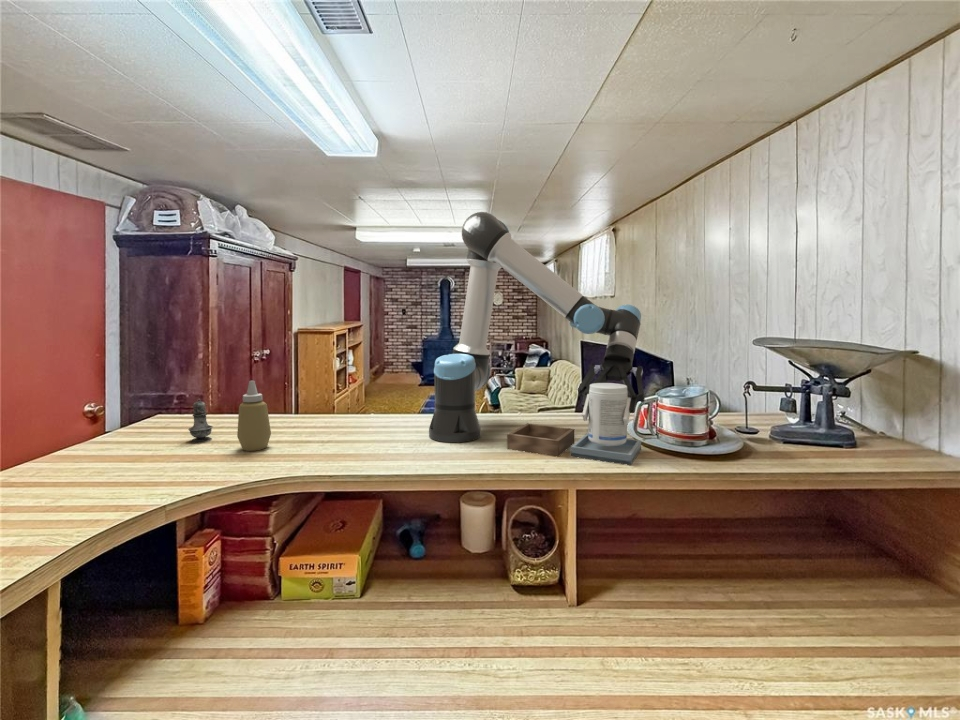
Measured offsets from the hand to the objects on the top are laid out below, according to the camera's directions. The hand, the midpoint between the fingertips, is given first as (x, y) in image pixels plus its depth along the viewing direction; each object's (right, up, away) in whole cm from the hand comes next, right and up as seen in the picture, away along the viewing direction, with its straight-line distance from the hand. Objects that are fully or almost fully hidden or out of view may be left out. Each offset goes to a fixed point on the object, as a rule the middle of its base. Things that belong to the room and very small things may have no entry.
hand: (604, 419), depth 118 cm
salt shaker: (-109, -8, +15) cm, 110 cm away
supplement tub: (+1, -6, +3) cm, 7 cm away
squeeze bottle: (-91, -9, +7) cm, 91 cm away
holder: (-15, -8, +10) cm, 19 cm away
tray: (+1, -9, +4) cm, 10 cm away
